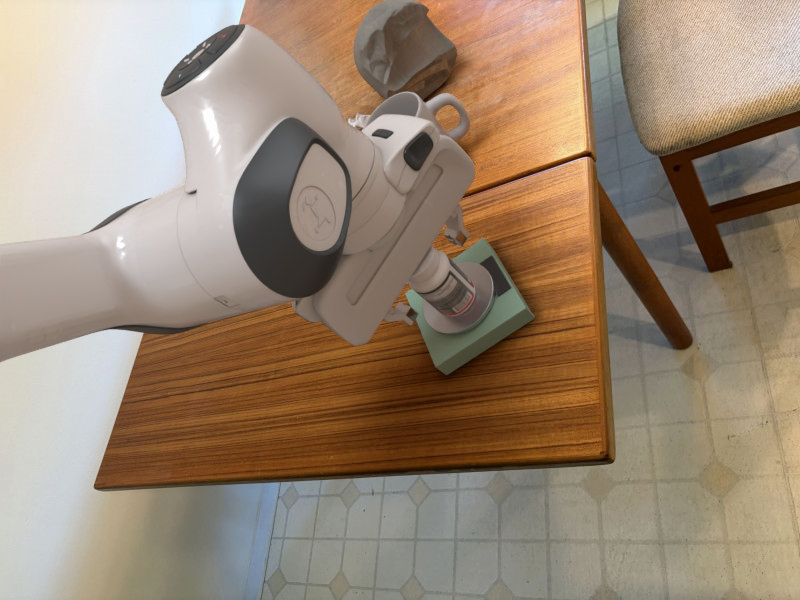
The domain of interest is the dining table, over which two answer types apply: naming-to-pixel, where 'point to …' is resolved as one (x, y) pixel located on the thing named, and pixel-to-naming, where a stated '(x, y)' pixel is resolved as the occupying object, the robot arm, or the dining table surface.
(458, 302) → the pill bottle
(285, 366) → the dining table surface
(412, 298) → the scale
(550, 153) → the dining table surface
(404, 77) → the decorative stone
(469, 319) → the scale pan
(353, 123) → the anatomical pelvis
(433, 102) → the mug
